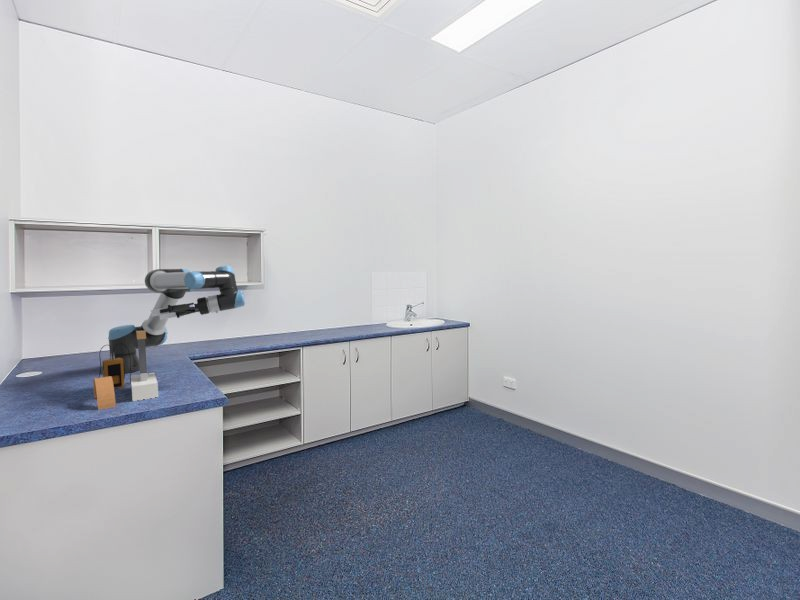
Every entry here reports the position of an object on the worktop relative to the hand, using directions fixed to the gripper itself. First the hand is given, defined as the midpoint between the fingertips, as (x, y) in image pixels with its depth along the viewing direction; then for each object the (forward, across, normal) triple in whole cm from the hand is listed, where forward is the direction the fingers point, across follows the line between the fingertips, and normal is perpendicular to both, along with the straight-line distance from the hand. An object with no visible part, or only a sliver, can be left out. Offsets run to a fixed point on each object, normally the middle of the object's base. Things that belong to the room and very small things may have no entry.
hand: (155, 315), depth 185 cm
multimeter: (+27, +18, -26) cm, 41 cm away
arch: (+23, -6, -32) cm, 39 cm away
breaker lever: (+9, +1, -24) cm, 26 cm away
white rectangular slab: (+11, +3, -32) cm, 33 cm away
